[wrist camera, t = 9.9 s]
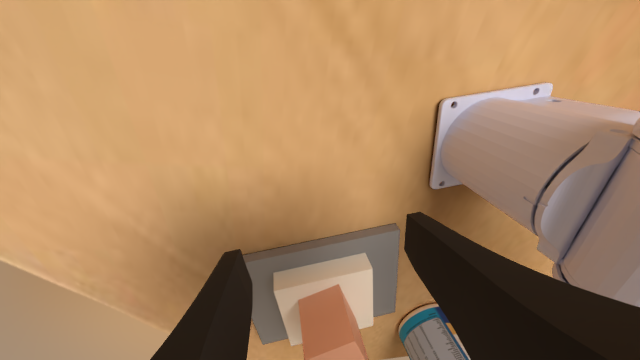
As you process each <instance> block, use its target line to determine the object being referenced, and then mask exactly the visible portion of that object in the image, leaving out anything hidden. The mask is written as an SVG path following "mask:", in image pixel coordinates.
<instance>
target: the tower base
mask: <svg viewBox="0 0 640 360" xmlns="http://www.w3.org/2000/svg"><path fill="white" fill-rule="evenodd" d="M399 239H400V229H399V228H398V226H397V225H396V223H394V224H389V225H385V226H380V227H375V228H370V229H366V230H361V231H356V232H351V233H347V234H342V235H337V236H332V237H327V238H323V239H318V240H313V241H308V242H304V243H299V244H294V245H289V246H285V247H280V248H275V249H270V250H266V251H261V252H256V253H251V254H247V255H242V256H243V259H244V261H245V264H246V267H247V269H248V272H249V275H250V277H251V280H252V283H253V306H252V317H251V318H252V320H253V323H254V325H255V327H256V330H257V332H258V334H259V337H260V339H261V341H262V344H263V345H264V344H268V343H272V342H276V341H280V340H284V339H288V338H289V341H290V344H291V346H294V345H298V344H302V343H303V342H302V332H301V323H300V313H299V304H298V300H299V299H302V298H304V297H307V296H310V295H312V294H315V293H317V292H320V291H322V290H325V289H327V288H330V287H332V286H335V285H337V284H339V286H340V288H341V290H342V292H343V294H344V296H345V298H346V300H347V302H348V304H349V306H350V308H351V310H352V312H353V314H354V316H355V318H356V321H357V324H358V327H359V329H362V328H366V327H370V326H373V317H377V316H381V315H385V314H389V313H393V312H395V304H396V288H397V272H398V255H399Z"/></svg>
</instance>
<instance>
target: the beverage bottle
mask: <svg viewBox="0 0 640 360" xmlns="http://www.w3.org/2000/svg"><path fill="white" fill-rule="evenodd" d="M399 337H400V339H401V341H402V343H403V345H404V347H405V349H406V351H407V353H408V356H409V358H410V360H471V359H470V357H469V355H468V354H467V352H466V350H465V348H464V346H463V345H462V343H461V341H460V339H459V337H458V336H457V334H456V332H455V330H454V328H453V327H452V325H451V324H450V322H449V320H448V319H447V317H446V316H445V314H444V313H443V311H442V310H441V308H440V307H439V305H438V304H437V303H436V304H429V305H425V306H422V307H420V308H418V309H416V310H414V311H412V312H411V313H410V314H408V315H407V316H406V317H405V318H404V319H403V320H402V322H401V324H400V326H399Z"/></svg>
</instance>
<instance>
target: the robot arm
mask: <svg viewBox="0 0 640 360" xmlns="http://www.w3.org/2000/svg"><path fill="white" fill-rule="evenodd" d="M552 89H553V85H552V83H546V82H545V83H539V84H532V85H526V86H520V87H514V88H508V89H501V90H495V91H489V92H483V93H477V94H470V95H464V96H458V97H452V98H446V99H444V100H442V101H441V103H440V105H439V112H438V120H437V128H436V136H435V144H434V152H433V160H432V168H431V177H430V187H431V188H432V189H440V188H445V187H450V186H455V185H460V184H464V185H465V186H467V187H468V188H470V189H471V190H472V191H474V192H475V193H477V194H478V195H480V196H481V197H482V198H484V199H485V200H487V201H488V202H490V203H491V204H492V205H494V206H495V207H497V208H498V209H500V210H501V211H503V212H504V213H505V214H507V215H508V216H510V217H511V218H513V219H514V220H515V221H517V222H518V223H520V224H521V225H523V226H524V227H525V228H527V229H528V230H530V231H531V232H533V233H534V234H535V235H537V236H538V237H539V243H538V246H537V250H539V251H540V252H541V253H543V254H544V255H545V256H547V257H548V258H549V259H551V260H552V261H553V262H554V264H553V268H552V274H553V278H552V277H549V276H547V275H544V274H542V273H539V272H537V271H534V270H532V269H530V268H527V267H525V266H523V265H520V264H518V263H516V262H513V261H511V260H509V259H507V258H505V257H503V256H500V255H498V254H496V253H494V252H492V251H490V250H488V249H486V248H484V247H482V246H481V245H479V244H477V243H475V242H473V241H471V240H469V239H467V238H466V237H464V236H462V235H460V234H458V233H457V232H455V231H453V230H451V229H450V228H448V227H446V226H444V225H443V224H441V223H439V222H437V221H436V220H434V219H432V218H430V217H429V216H427V215H425V214H423V213H421V212H417V213H412V214H407V219H406V232H405V245H404V250H405V252H406V254H407V256H408V258H409V260H410V262H411V264H412V266H413V267H414V269H415V271H416V273H417V274H418V276H419V277H420V279H421V280H422V282H423V283H424V285H425V286H426V288H427V289H428V291H429V292H430V294H431V295H432V297H433V298H434V300H435V301H436V302H437V304H438V305H439V307H440V308H441V310H442V311H443V313H444V314H445V316H446V317H447V319H448V320H449V322H450V324H451V325H452V327H453V328H454V330H455V332H456V334H457V336H458V337H459V339H460V341H461V343H462V345H463V346H464V348H465V350H466V352H467V354H468V355H469V357H470V359H471V360H640V111H635V110H629V109H623V108H617V107H611V106H605V105H599V104H593V103H587V102H581V101H575V100H569V99H563V98H557V97H551V96H550V95H551V92H552ZM533 91H534V92H533ZM453 102H454V105H453V106H452V107H451V104H452V103H453ZM440 182H442V183H441V184H440ZM252 306H253V283H252V280H251V277H250V275H249V272H248V269H247V267H246V264H245V261H244V259H243V256H242V253H241V251H240V249H239V250H234V251H229V252H225V253H224V254H223V256H222V257H221V259H220V260H219V262H218V264H217V265H216V267H215V269H214V270H213V272H212V274H211V275H210V277H209V278H208V280H207V282H206V283H205V285H204V286H203V288H202V289H201V291H200V292H199V294H198V295H197V297H196V299H195V300H194V302H193V303H192V305H191V306H190V307H189V309H188V310H187V312H186V313H185V314H184V316H183V317H182V319H181V320H180V322H179V323H178V324H177V326H176V327H175V329H174V330H173V331H172V333H171V334H170V335H169V337H168V338H167V339H166V340H165V342H164V343H163V345H162V346H161V347H160V348H159V349H158V351H157V352H156V353H155V354H154V356H153V357H152V358H151V359H150V360H246V359H247V351H248V342H249V334H250V325H251V317H252Z"/></svg>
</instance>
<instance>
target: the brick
mask: <svg viewBox="0 0 640 360" xmlns="http://www.w3.org/2000/svg"><path fill="white" fill-rule="evenodd" d="M298 304H299V313H300V323H301V332H302V342H303V351H304V360H369V359H368V356H367V353H366V350H365V346H364V343H363V340H362V337H361V334H360V330H359V327H358V324H357V321H356V318H355V316H354V314H353V312H352V310H351V308H350V306H349V304H348V302H347V300H346V298H345V296H344V294H343V292H342V290H341V288H340V286H339V284H337V285H335V286H332V287H330V288H327V289H325V290H322V291H320V292H317V293H315V294H312V295H310V296H307V297H304V298H302V299H299V300H298Z"/></svg>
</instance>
